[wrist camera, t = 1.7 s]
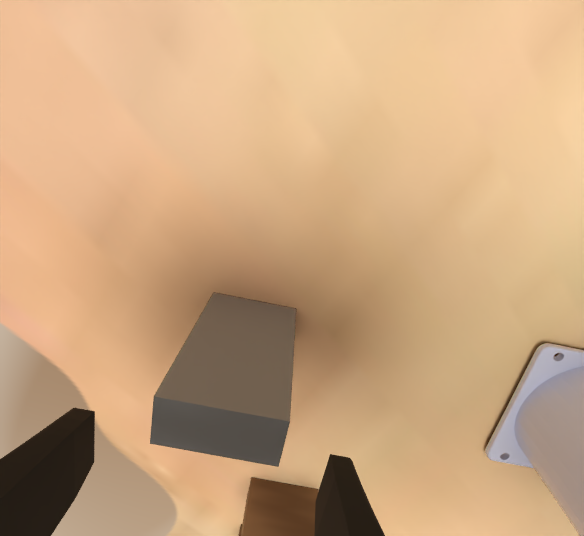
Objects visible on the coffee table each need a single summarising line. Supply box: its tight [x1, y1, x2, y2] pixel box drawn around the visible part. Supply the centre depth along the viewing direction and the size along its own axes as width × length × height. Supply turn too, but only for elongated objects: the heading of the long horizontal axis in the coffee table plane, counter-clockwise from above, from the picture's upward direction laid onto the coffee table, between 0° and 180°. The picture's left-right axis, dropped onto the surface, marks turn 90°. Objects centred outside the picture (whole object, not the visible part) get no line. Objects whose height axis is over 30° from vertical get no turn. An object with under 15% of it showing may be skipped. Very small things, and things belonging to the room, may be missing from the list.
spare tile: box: [150, 293, 296, 467], centre depth 16 cm, size 4×2×8 cm, turn 79°
